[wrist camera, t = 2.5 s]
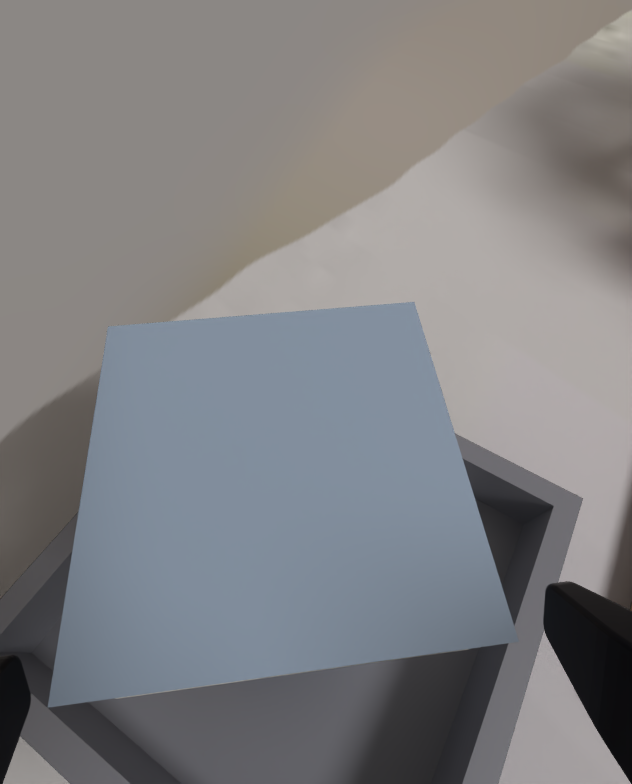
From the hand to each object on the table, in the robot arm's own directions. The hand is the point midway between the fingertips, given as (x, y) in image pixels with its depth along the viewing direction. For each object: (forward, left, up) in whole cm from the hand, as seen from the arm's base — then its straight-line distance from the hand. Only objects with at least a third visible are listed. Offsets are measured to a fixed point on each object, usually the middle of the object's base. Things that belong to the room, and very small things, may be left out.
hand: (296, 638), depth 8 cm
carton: (+2, +1, -9) cm, 9 cm away
